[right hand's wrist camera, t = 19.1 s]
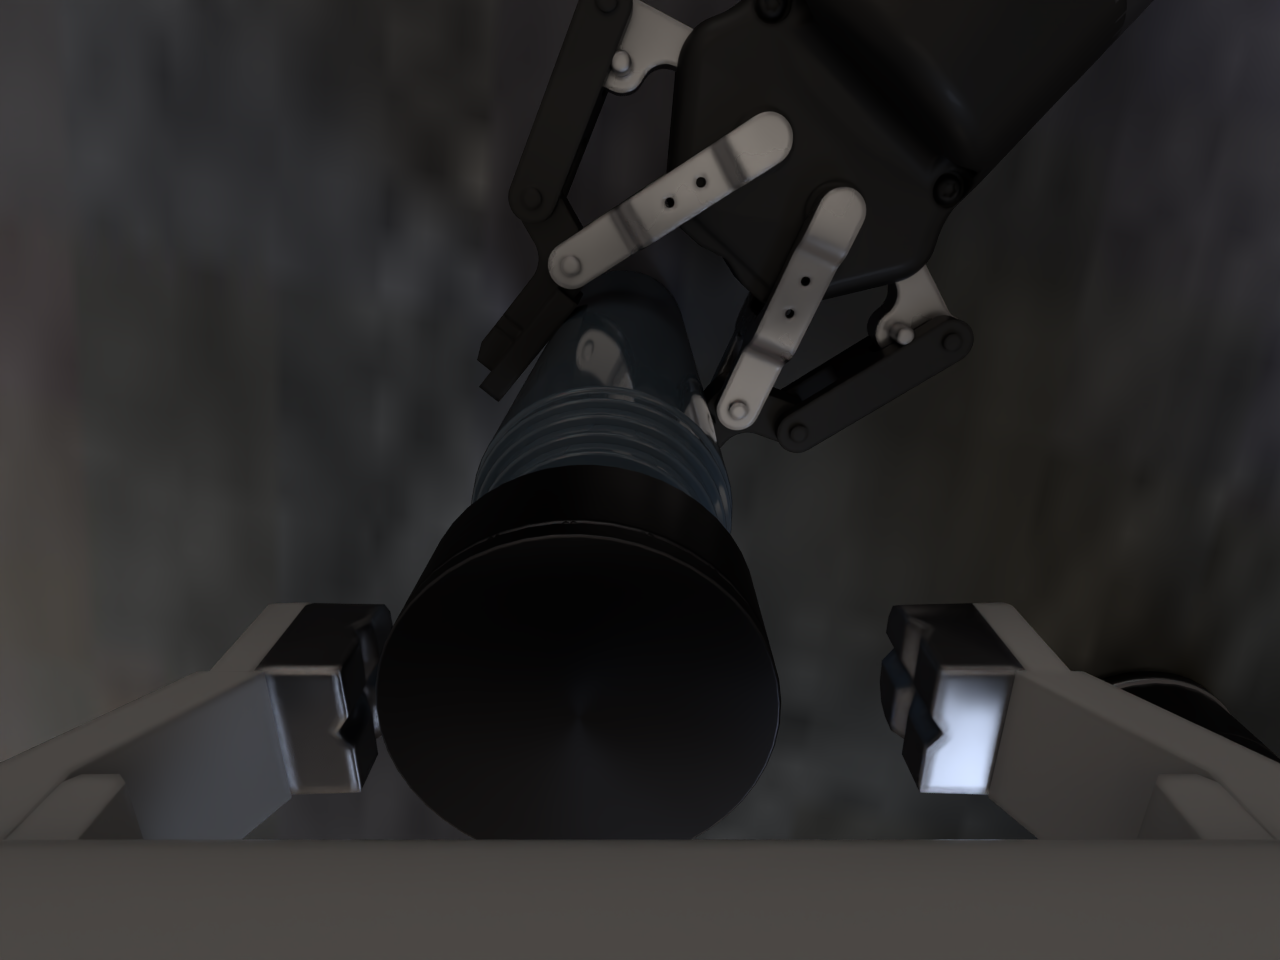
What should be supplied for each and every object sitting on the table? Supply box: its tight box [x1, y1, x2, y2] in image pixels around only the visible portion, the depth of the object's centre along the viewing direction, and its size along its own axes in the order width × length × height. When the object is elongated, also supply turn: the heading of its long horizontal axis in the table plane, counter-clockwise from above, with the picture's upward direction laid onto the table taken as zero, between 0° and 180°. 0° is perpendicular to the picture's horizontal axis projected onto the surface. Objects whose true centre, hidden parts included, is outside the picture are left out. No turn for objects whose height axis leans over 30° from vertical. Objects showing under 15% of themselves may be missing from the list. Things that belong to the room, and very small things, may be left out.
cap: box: [375, 465, 781, 840], centre depth 9 cm, size 4×4×2 cm
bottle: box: [471, 270, 732, 534], centre depth 18 cm, size 4×4×21 cm
